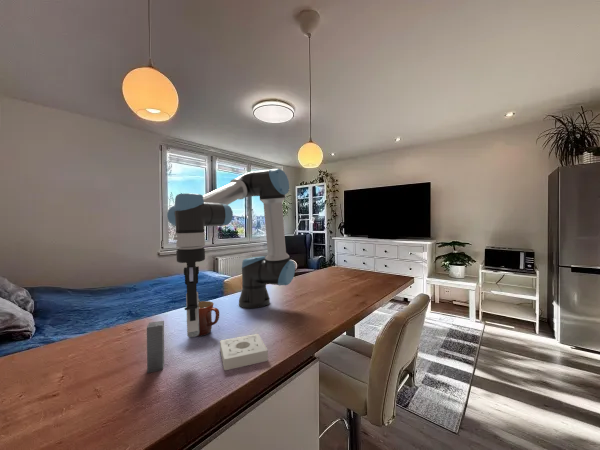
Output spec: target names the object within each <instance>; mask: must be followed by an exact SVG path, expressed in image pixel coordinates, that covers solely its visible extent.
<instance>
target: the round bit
mask: <svg viewBox="0 0 600 450" xmlns="http://www.w3.org/2000/svg"><path fill="white" fill-rule="evenodd" d="M185 298H186V299H185V300H186V301H185V302H186V304H185V305H186V307H187V293H185ZM198 299H199V291H197V305H198V331H194V332H188V320H187V319H186V334H187V335H186V336H187V337H188V338H194V337H198V336H197V335H199V304H198ZM186 307H185V308H186Z"/></svg>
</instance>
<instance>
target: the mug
mask: <svg viewBox="0 0 600 450" xmlns="http://www.w3.org/2000/svg"><path fill="white" fill-rule="evenodd" d="M198 304H199V335H197V336H196V337H204V336H206V335H208V334H210V332H212V328H213V326H214V325H216V324H217V323H218V321H219V320H220V310H219V308H217V307H214V304H215V303H214V302H213V301H206V300H204V301H203V300H202V301H200V302H198ZM212 311H214V313H215V318H214V321H213V316H212Z"/></svg>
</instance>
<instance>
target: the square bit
mask: <svg viewBox="0 0 600 450" xmlns="http://www.w3.org/2000/svg"><path fill="white" fill-rule="evenodd" d="M146 359H147V361H146V364H147V365H146V368H147V369H146V371H147V372H146V373H147V374H150V373H153V372H154V373H155V372H159V371H163V369H164V366H165V321H164V320H161V321H152V322H149V323H148V325H147V327H146Z"/></svg>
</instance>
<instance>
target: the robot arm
mask: <svg viewBox="0 0 600 450" xmlns="http://www.w3.org/2000/svg"><path fill="white" fill-rule="evenodd" d="M289 192H290V182H289V178H288V176H287V174H286V172H285V171H284V170H282V169H281V168H269V169H260V170H254V171H253V170H252V171H249V172H246V173H243V174H242V175H239V176H238V177H237V176H236V178H233V179H231V180H230V182H229V183H228V184H226V185H224V186H221V187H219V188H217V189H214V190H212V191H211V192H208V193H206V194H200V193H191V192H190V193H187V192H186V193H185V192H184V193H178V194H177V195H175V198H174V205H172V206H171V207H170V208H169V209H168V210H167V214H166V216H167V217H166V218H167V220H168V222H169V223H170V224H171V225H172V226H173V227H175V236H174V237H173V240H174V241H176V242H175V244H176V247H177V249H176V262H177V263H180V264H185V263H186V267H184V268H183V275H184V284H185V285H186V294H187V307H184V311H186V321H187V320H188V332H194V331H198V305H197V292H198V290H197V289H198V288H197V284H198V283H199V273H200V270H199V269H200V267H199V266H198V265H196V263H200V262H203V261H204V260H205V259H206V249H205V247H204V246H205V245H206V242H205V241H206V234H205V227H223V226H228V225H230V223H231V222H232V220H233V215H234V213H233V210H232V208H231V207H230V204H232V203H234V202H235V201H237V200H244V199H245V198H248V197H249V198H250V197H259V201H260V202H261V203H263V212H264V214H263V215H264V223H265V225H264V227H265V237H266V249H267V255H266V256H265V255H264V256H263V255H261V256H253V257H247V258H244V259H243V260H242V262H241V274H242V275H241V278H242V279H241V281H242V283H241V284H242V285H241V286H242V288H241V291H240V295H239V299H238V306H239V307H240V308H243V309H259V308H263V306H264V307H266V306H265V305H267V306H268V305H269V304H270V302H271V299H270V295H269V292H268V289H267V285H275V286H279V287H280V286H289V285H290V284H291V283H292V282H293V279H294V277H295V271H296V264H295V262H294V261H293V260H290V255H289V254H288V252H287V248H286V238H285V237H286V236H285V235H286V234H285V222H284V208H283V201H284V200H285V199H286V195H287V194H288V193H289ZM198 302H201V301H200V299H199V298H198ZM258 307H259V308H258Z"/></svg>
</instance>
